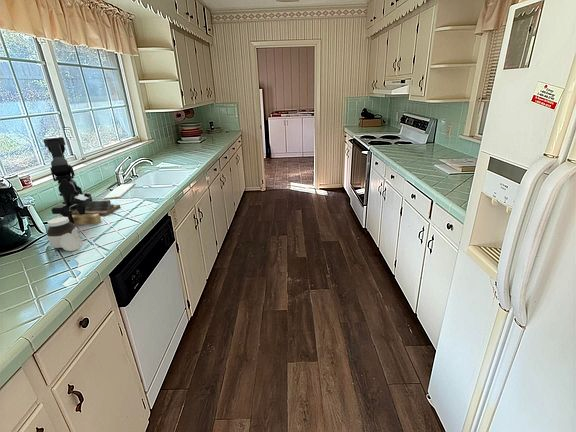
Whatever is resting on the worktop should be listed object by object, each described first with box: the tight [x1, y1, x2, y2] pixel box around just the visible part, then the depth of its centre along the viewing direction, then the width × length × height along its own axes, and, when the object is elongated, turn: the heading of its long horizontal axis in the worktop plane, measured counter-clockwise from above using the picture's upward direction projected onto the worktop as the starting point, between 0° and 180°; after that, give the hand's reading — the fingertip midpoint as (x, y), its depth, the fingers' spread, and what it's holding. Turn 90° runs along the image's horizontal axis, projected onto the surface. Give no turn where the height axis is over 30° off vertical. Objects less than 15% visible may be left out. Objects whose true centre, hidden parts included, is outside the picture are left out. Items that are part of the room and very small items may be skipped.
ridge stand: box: [72, 199, 121, 216], centre depth 167 cm, size 20×12×6 cm, turn 82°
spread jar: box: [46, 217, 82, 252], centre depth 125 cm, size 12×11×12 cm
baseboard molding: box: [101, 181, 136, 200], centre depth 202 cm, size 31×3×12 cm
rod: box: [53, 214, 102, 226], centre depth 152 cm, size 20×4×4 cm, turn 91°
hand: (78, 221), depth 152 cm, fingers open, 6 cm apart
